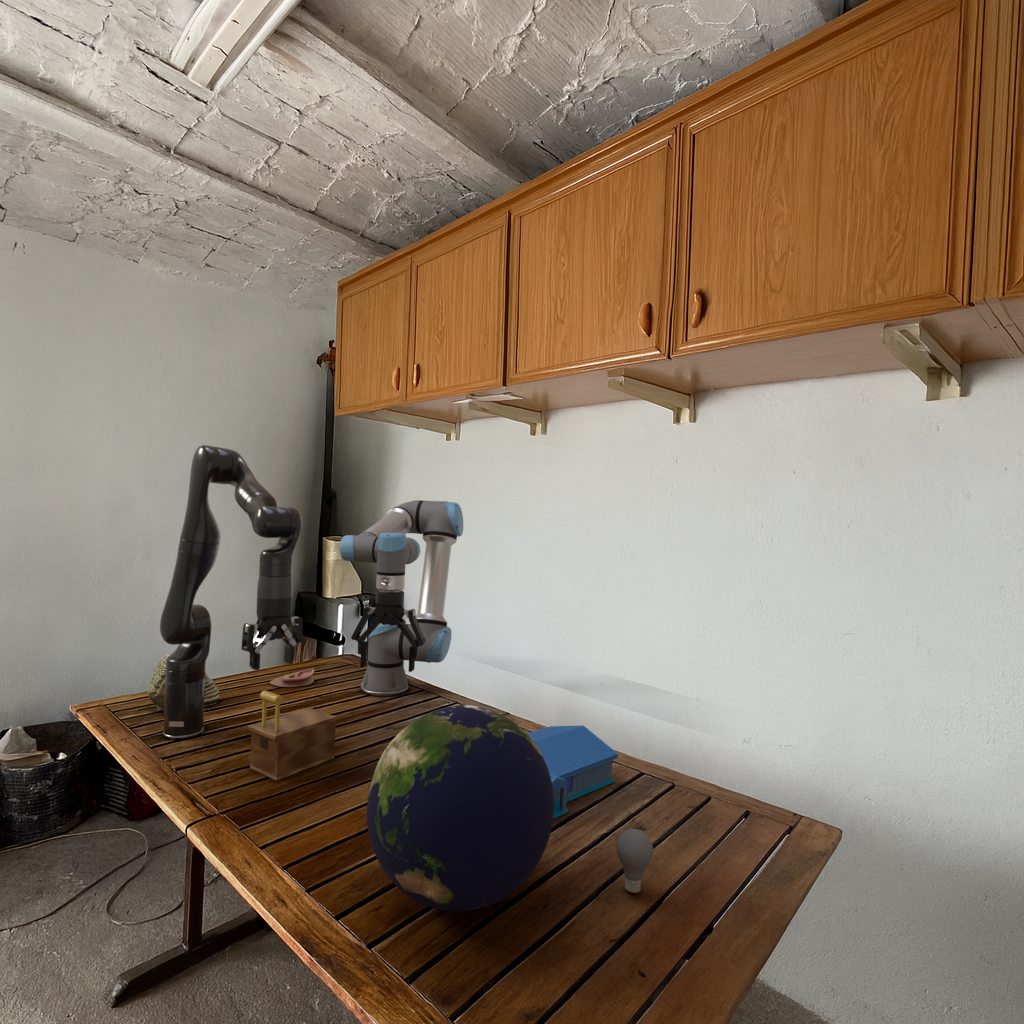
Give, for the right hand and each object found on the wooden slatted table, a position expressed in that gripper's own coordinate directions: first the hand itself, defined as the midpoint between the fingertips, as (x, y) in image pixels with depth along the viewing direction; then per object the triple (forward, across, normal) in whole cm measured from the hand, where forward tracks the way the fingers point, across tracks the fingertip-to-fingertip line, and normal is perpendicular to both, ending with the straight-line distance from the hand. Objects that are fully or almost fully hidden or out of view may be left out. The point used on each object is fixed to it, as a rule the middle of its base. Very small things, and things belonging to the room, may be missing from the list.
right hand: (387, 668), depth 171 cm
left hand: (-7, -16, -30) cm, 35 cm away
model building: (+17, +43, -24) cm, 52 cm away
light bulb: (+17, +65, -56) cm, 87 cm away
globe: (+17, +37, -64) cm, 76 cm away
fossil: (+18, -63, +3) cm, 65 cm away
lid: (+8, -14, -25) cm, 29 cm away
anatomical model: (+18, -45, +33) cm, 59 cm away
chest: (+17, -14, -24) cm, 33 cm away
